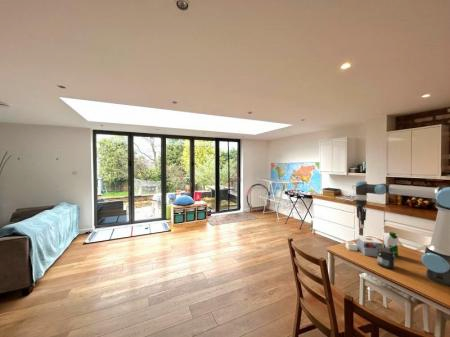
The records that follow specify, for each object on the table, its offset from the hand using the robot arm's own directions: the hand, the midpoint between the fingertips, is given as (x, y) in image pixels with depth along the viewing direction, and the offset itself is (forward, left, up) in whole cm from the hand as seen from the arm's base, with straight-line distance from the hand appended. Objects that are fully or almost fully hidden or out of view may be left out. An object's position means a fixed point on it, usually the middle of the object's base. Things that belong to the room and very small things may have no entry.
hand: (361, 227), depth 156 cm
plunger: (+13, -12, -22) cm, 28 cm away
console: (+13, -12, -26) cm, 31 cm away
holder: (+17, +1, -26) cm, 31 cm away
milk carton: (+12, -27, -26) cm, 39 cm away
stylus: (0, 0, -7) cm, 7 cm away
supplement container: (-10, -13, -26) cm, 31 cm away
